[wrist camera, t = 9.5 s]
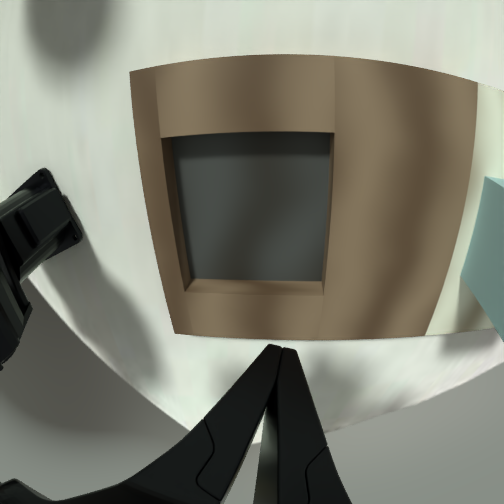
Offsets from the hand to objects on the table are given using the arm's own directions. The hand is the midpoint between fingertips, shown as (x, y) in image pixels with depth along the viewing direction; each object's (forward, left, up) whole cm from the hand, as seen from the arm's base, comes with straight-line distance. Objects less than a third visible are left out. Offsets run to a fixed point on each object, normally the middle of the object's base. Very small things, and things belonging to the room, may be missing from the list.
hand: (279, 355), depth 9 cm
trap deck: (+11, -4, -11) cm, 16 cm away
